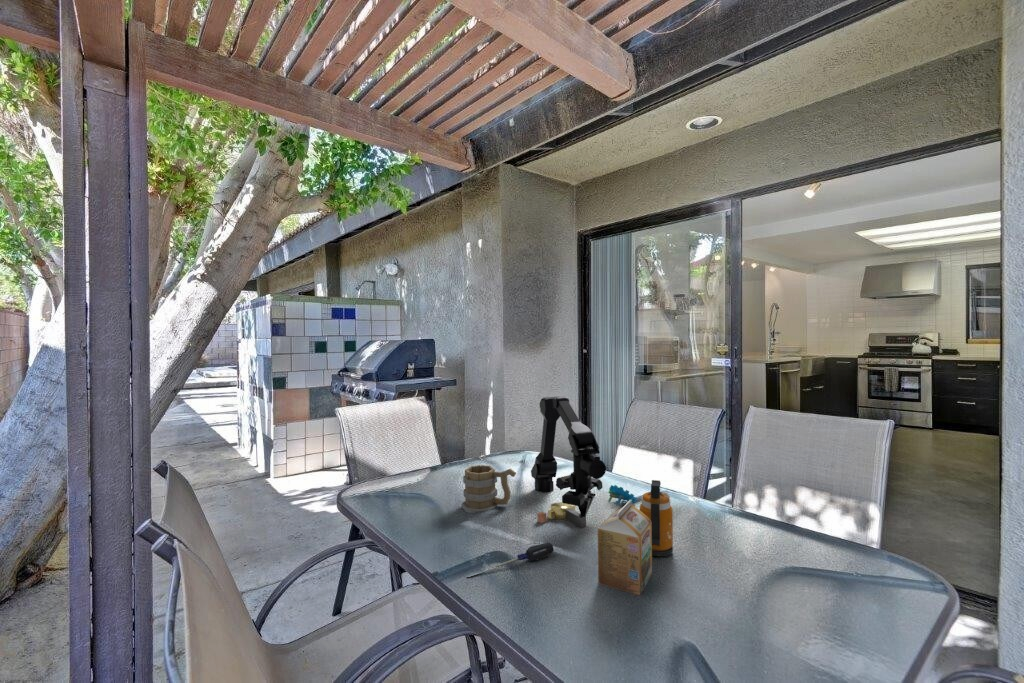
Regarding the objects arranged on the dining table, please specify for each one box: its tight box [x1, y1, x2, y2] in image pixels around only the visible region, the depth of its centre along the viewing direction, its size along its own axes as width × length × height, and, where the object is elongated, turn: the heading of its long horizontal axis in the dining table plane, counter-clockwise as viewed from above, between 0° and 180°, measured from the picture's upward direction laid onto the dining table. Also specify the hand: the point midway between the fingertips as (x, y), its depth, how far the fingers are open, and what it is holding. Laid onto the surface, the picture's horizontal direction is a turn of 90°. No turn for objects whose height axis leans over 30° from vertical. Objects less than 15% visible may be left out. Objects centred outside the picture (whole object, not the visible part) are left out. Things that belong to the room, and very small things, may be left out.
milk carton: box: [597, 500, 653, 596], centre depth 120 cm, size 11×11×19 cm
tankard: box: [461, 464, 517, 514], centre depth 168 cm, size 20×13×15 cm, turn 68°
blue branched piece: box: [607, 484, 637, 504], centre depth 169 cm, size 11×6×10 cm
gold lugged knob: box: [547, 502, 587, 529], centre depth 155 cm, size 16×10×3 cm, turn 31°
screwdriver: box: [486, 542, 555, 569], centre depth 128 cm, size 26×4×4 cm, turn 116°
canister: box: [639, 479, 674, 557], centre depth 133 cm, size 9×11×20 cm
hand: (583, 517), depth 152 cm, fingers closed
